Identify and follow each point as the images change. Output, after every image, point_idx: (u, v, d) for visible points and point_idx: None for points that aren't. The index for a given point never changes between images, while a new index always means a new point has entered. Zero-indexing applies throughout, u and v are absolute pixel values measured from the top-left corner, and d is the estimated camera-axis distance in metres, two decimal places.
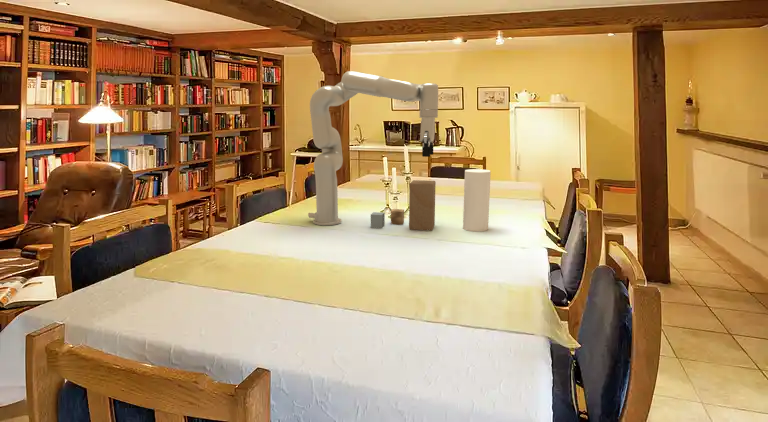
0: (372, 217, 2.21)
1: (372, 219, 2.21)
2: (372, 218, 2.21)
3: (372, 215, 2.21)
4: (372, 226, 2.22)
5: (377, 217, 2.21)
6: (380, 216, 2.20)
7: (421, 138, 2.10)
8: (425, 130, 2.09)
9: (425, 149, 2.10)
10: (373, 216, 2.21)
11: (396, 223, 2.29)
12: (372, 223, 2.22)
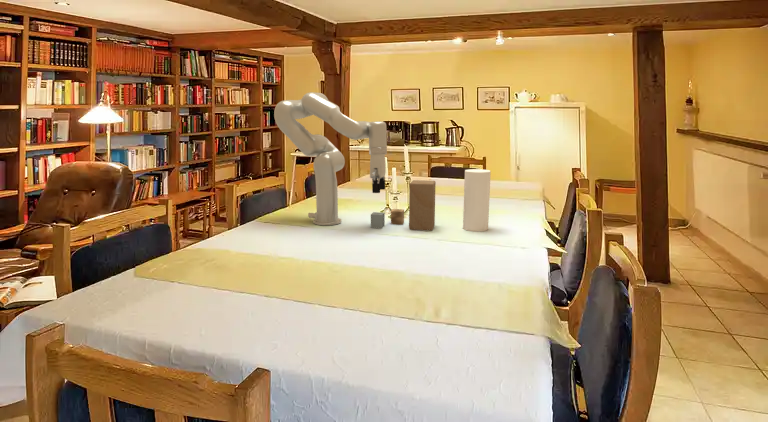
0: (372, 217, 2.21)
1: (372, 219, 2.21)
2: (372, 218, 2.21)
3: (372, 215, 2.21)
4: (372, 226, 2.22)
5: (377, 217, 2.21)
6: (380, 216, 2.20)
7: (371, 175, 2.15)
8: (374, 167, 2.14)
9: (374, 185, 2.15)
10: (373, 216, 2.21)
11: (396, 223, 2.29)
12: (372, 223, 2.22)
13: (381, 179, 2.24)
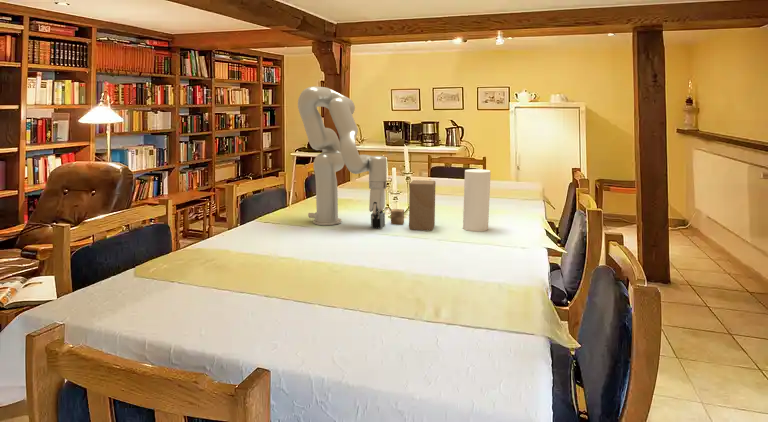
0: (372, 217, 2.21)
1: (372, 219, 2.21)
2: (372, 218, 2.21)
3: (372, 215, 2.21)
4: (372, 226, 2.22)
5: None
6: (380, 216, 2.20)
7: (370, 209, 2.18)
8: (374, 201, 2.17)
9: (375, 221, 2.20)
10: None
11: (396, 223, 2.29)
12: (372, 223, 2.22)
13: None
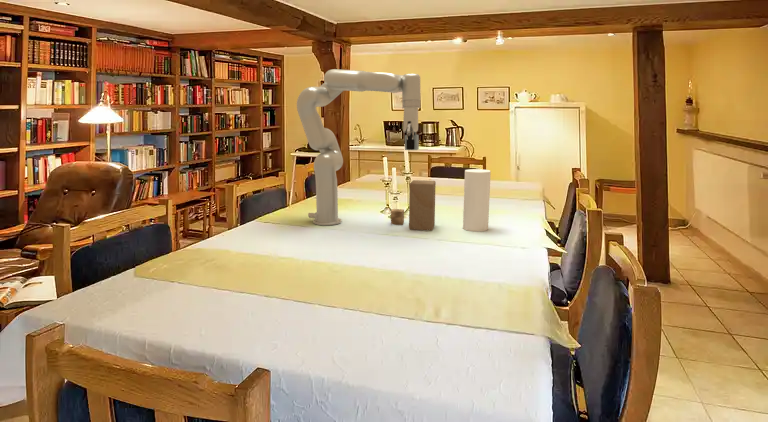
0: (406, 138, 2.13)
1: (406, 140, 2.14)
2: (406, 139, 2.13)
3: (406, 136, 2.13)
4: (406, 148, 2.14)
5: None
6: (415, 137, 2.13)
7: (404, 129, 2.10)
8: (408, 120, 2.09)
9: (409, 142, 2.12)
10: None
11: (396, 223, 2.29)
12: (406, 144, 2.14)
13: None
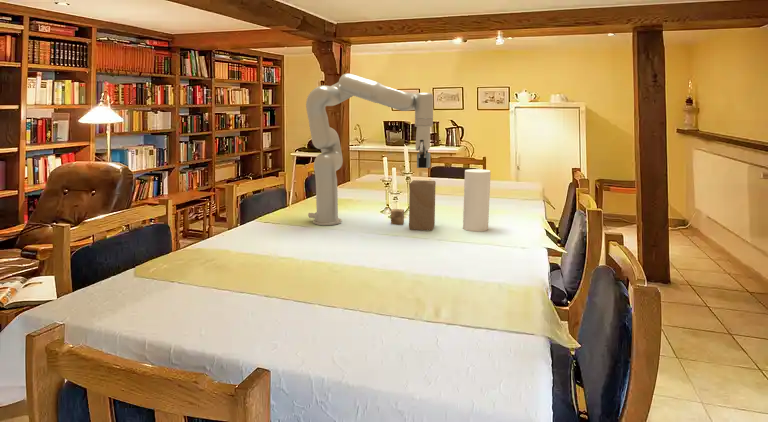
0: (418, 156, 2.15)
1: (418, 158, 2.15)
2: (418, 157, 2.15)
3: (418, 154, 2.15)
4: (418, 166, 2.15)
5: None
6: (427, 155, 2.14)
7: (416, 147, 2.12)
8: (420, 139, 2.11)
9: (421, 160, 2.13)
10: None
11: (396, 223, 2.29)
12: (418, 162, 2.15)
13: None
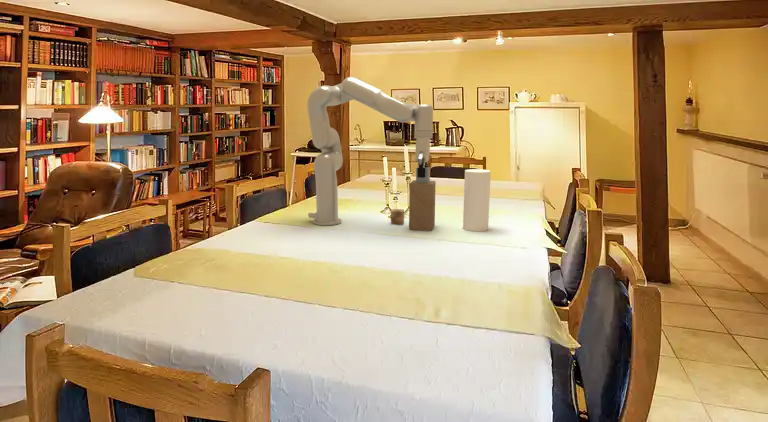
0: None
1: None
2: None
3: None
4: (417, 180, 2.17)
5: None
6: (426, 170, 2.15)
7: (416, 158, 2.13)
8: (420, 151, 2.11)
9: (420, 170, 2.13)
10: None
11: (396, 223, 2.29)
12: (417, 177, 2.16)
13: (424, 164, 2.22)
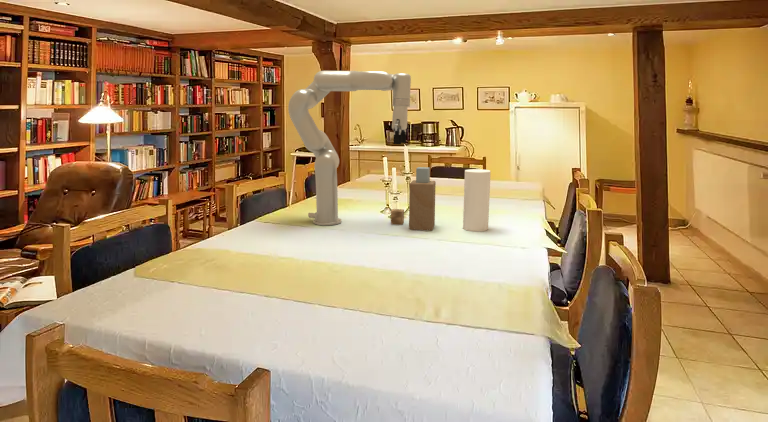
0: (418, 171, 2.16)
1: (418, 173, 2.16)
2: (418, 172, 2.16)
3: (418, 169, 2.16)
4: (417, 180, 2.17)
5: (423, 171, 2.15)
6: (426, 170, 2.15)
7: (393, 126, 2.18)
8: (396, 118, 2.17)
9: (396, 136, 2.18)
10: (419, 170, 2.16)
11: (396, 223, 2.29)
12: (417, 177, 2.16)
13: (402, 132, 2.27)
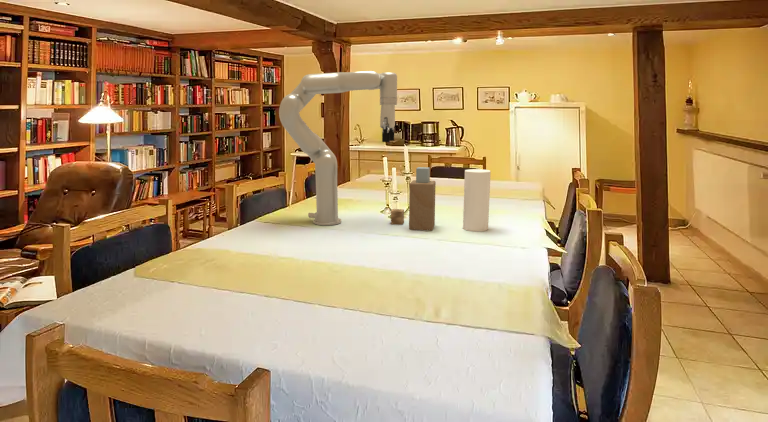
0: (418, 171, 2.16)
1: (418, 173, 2.16)
2: (418, 172, 2.16)
3: (418, 169, 2.16)
4: (417, 180, 2.17)
5: (423, 171, 2.15)
6: (426, 170, 2.15)
7: (381, 124, 2.22)
8: (384, 117, 2.21)
9: (384, 134, 2.22)
10: (419, 170, 2.16)
11: (396, 223, 2.29)
12: (417, 177, 2.16)
13: (390, 130, 2.31)
